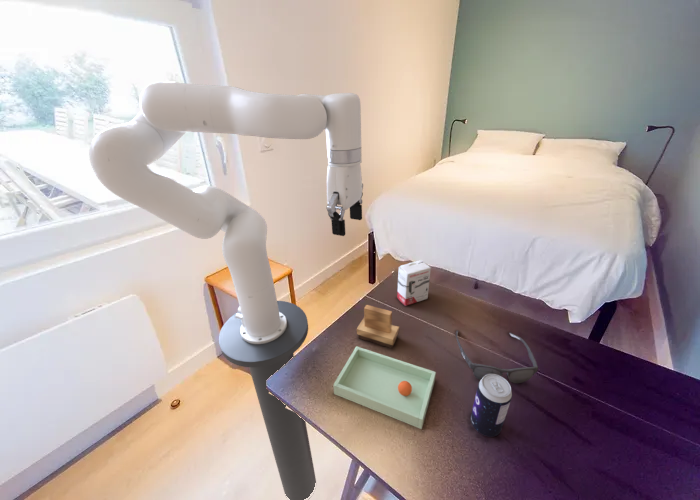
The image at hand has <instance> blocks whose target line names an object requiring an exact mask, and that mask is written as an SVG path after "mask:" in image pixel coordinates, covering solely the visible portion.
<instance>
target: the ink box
mask: <svg viewBox="0 0 700 500" xmlns="http://www.w3.org/2000/svg"><path fill="white" fill-rule="evenodd" d="M431 270H432V267H431V266H430V265H429V264H428V263H426V262H425V261H424V260H422V259H420V260H416V261H412V262H409V263H405V264H402V265H400V266H398V271H397V272H398V273H397V274H398V275H397V291H396V292H397V294H396V299H398V301H399V302H400V303H401V304H402V305H404V306H405V307H407V306H410V305H413V304H415V303H416V304H417V303H418V302H421V301H424V300H428V297H429V290H430V289H429V288H430V287H429V286H430V280H431V272H432V271H431Z"/></svg>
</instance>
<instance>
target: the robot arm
mask: <svg viewBox="0 0 700 500" xmlns="http://www.w3.org/2000/svg"><path fill="white" fill-rule="evenodd" d="M139 107H140V111H139V112H138V113H137V114H136V116H135V117H133V119H131V120H130V121H129V122H125V123H121V124H116V125H113V126H111V127H108V128H105V129H103V130H101V131H100V132H99V133H97V134H96V135H95V136H94V137H93V139H92V140H91V143H90V146H89V150H88V156H89V161H90V165H91V169H92V170H93V172H94V174H95V176H96V178H97V179H98V180H99V182H100V183H101V184H102V185H103V186H104V187H105V189H107V190H108V191H110V192H111V193H112V194H114V195H116V197H118V198H120V199H122V200H124V201H126V202H128V203H130V204H133V205H134V206H137V207H139V208H140V209H142V210H145V211H147V212H149V213H150V214H152V215H154V216H155V217H157V218H159V219H160V220H163V221H165V222H166V223H168V224H170V225H172V226H173V227H175V228H177V229H179V230H181V231H183V232H185V233H187V234H188V235H190V236H192V237H195V238H197V239H201V240H208V239H212V238H213V237H215V236H217V234H219V232H220V231H222V232H225V233H224V236H223V239H222V243H221V250H222V251H221V253H222V256H223V259H224V261H225V264H226V266H227V268H228V270H229V273H230V276H231V281H232V284H233V288H234V290H235V294H236V298H237V302H238V305H239V306H238V307H237V312H240V313H242V314H239V313H237V312H236V313H237V314H236V315H235V317H236V318H238V319H241V321H242V325H241V328H240V333H241V336H242V338H243V339H244V340H245V341H246V342H248V343H252V344H264V343H268V342H271V341H273V340H275V339H277V338H278V337H279V336H281V335H282V334H283V333H284V331H285V329H286V327H287V320H286V317H285V316H284V315H283V314H282V313H280V312H279V309H278V304H277V301H278V299H277V294H276V289H275V283H274V279H273V274H272V269H271V264H270V260H269V257H268V253H267V235H268V224H267V221H266V219H265V217H263V215H262V214H261V213H260V212H258V211H257V210H255V208H252V207H251V206H249V205H248V204H247V203H244V202H243V201H241V200H240V199H238V198H236V197H235V196H233V195H232V194H230V193H228V192H226V191H225V190H224V189H221V188H219V187H215V186H212V185H203V186H199V187H197V188H194V190H192V189H191V188H189V187H187V186H185V185H184V184H182V183H181V182H179V181H177V180H176V179H174V178H172V177H170V176H168V175H165V174H163V173H159V172H157V171H155V170H153V169H151V167H149V166H150V165H151V164H153V163H155V162H156V161H158V160H159V159H161V158H162V157H163V156H164V155H166V153H168V151H169V150H171V148H173V146H174V145H175V144H176V143H177V142H179V140H180V139H181V138H182V137H183V136H184V135H185V134H186V133H205V134H206V133H207V134H208V133H209V134H210V133H211V134H228V135H237V136H238V135H239V136H244V137H245V136H248V137H257V138H266V139H282V140H284V139H285V140H310V139H315V138H317V137H318V136H320V135H321V134H322V133H323V131H325V138H326V152H327V153H326V154H327V164H328V165H327V170H326V203H327V204H326V211H327V215H328V217H329V219H330V220H331V233H332V235H334V236H339V237H345V236H346V219H344V217H345V212H346V210H348V209H349V219H351V220H355V221H362V220H363V195H364V192H363V191H364V190H363V189H364V183H363V178H362V177H363V176H362V166H361V164H362V162H363V156H362V155H363V154H362V151H363V150H362V114H361V113H362V110H361V109H362V108H361V98H360V97H359V95H358V94H357V93H354V92H340V93H339V92H338V93H337V92H336V93H330V94H326V95H325V94H311V93H300V94H297V95H296V94H282V93H281V94H280V93H268V92H267V93H266V92H257V91H251V90H248V89H244V88H240V87H237V86H232V85H218V84H217V85H216V84H203V83H202V84H201V83H186V82H178V81H155V82H151V83H149V84H148V85H146V86H145V87H144V88H143V89H142V91H141V92H140V95H139ZM338 211H339V212H338Z"/></svg>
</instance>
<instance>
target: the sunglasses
mask: <svg viewBox="0 0 700 500" xmlns="http://www.w3.org/2000/svg"><path fill="white" fill-rule="evenodd" d="M458 334H459V330H456V332H455V339H456V342H457V346H458V349H459V351H460V352H459V353H460V355H461V357H462V358H463V359H464V361H465V362H466V364H467V366H468V367H469V369H471V372H472V373H473V376H474V378H475V379H477V380H479V381H480V380H481V379H482V378H483V377H484V376H485V375H487V374H496V375H499V376H501V377H503V375H504V373H506V376H507V379H508V382H509V383H512V384H522V383H526V382H528V381H529V380H530V379H532V378H533V376H534V375H535V374H536V373H537V372H538V370H539V366H538V363H537V361H536V358H535V356H534V353H533V352H532V351H533V350H532V349H531V347H530V346H529V344H528V343H527V341H526V340H524V339H523V338H522V337H520V336H519V335H517V334H514V333H513V332H508V334H509V335H510V336H511V338H514V339H517V340H519V341H520V342H521V343H523V345H524V347H525V348H526V351H527V353H528V357H529V360H530V361H531V363H532V366H527V367H524V366H523V367H515V368H500V367H496V366H493V365H487V364H481V363H475V362H474V363H473V362H472V360H471V359H470V358H469V356H468V355H467V353H466V352H465V351H464V348H463V347H462V344H461V343H460V340H459V338H458V337H459V336H458Z"/></svg>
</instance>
